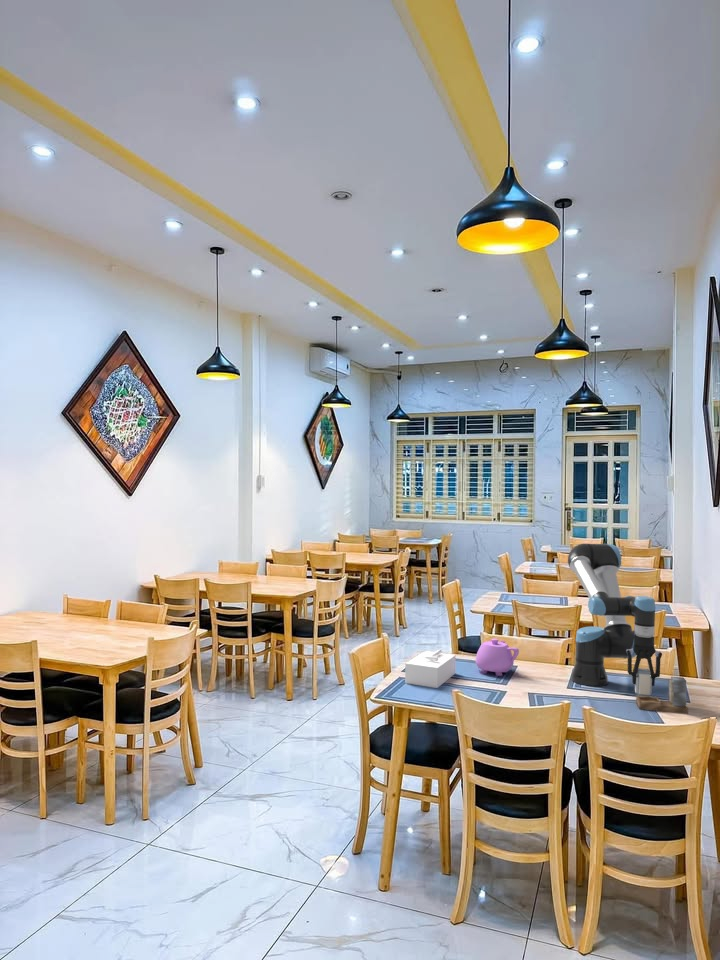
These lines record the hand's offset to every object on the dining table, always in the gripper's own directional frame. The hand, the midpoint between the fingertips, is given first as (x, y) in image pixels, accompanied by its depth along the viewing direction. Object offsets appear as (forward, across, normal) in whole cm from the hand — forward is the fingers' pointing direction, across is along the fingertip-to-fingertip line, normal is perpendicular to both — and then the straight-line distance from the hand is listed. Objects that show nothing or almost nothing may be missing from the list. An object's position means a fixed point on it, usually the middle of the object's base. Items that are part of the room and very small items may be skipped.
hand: (643, 692), depth 263 cm
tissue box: (+3, -87, +2) cm, 87 cm away
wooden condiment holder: (+2, +5, -12) cm, 13 cm away
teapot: (+3, -58, +22) cm, 62 cm away
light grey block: (+1, 0, 0) cm, 1 cm away
